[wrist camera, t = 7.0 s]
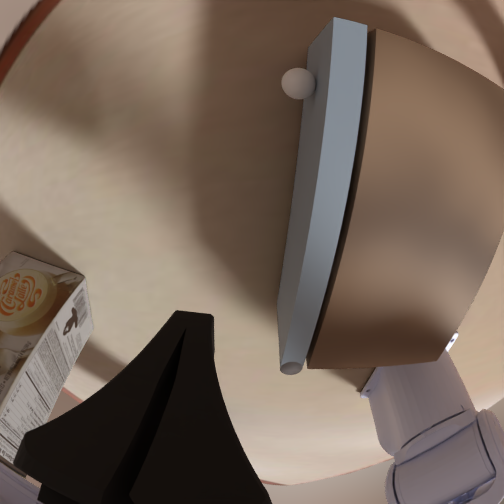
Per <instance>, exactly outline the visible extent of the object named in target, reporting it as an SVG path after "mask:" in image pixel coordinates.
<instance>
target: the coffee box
mask: <svg viewBox="0 0 504 504" xmlns="http://www.w3.org/2000/svg"><path fill="white" fill-rule="evenodd" d="M92 331H93V322H92V317H91V311H90V305H89V299H88V293H87V286H86V279H85V277H84V276H82V275H79V274H76V273H73V272H70V271H67V270H64V269H61V268H58V267H55V266H52V265H49V264H46V263H44V262H41V261H38V260H35V259H33V258H30V257H27V256H24V255H22V254H19V253H16V252H14V251H12V252H11V253H10V254H9V255H8V256H6V257H5V258H4V259H3V260H2V261H1V262H0V462H1V463H2V464H4V465H5V466H6V467H8V468H9V469H11V470H12V471H13V472H15V473H16V474H18V475H19V476H21V477H23V478H26V475H27V474H26V473H24V472H22V471H21V470H19V469H18V468H16V467H15V466H14V464H13V461H14V458H15V456H16V453H17V451H18V448H19V446H20V443H21V441H22V439H23V437H24V435H25V433H26V432H28V431H30V430H32V429H35V428H37V427H39V426H41V425H43V424H45V423H47V420H48V418H49V415H50V413H51V411H52V409H53V407H54V404H55V402H56V400H57V397H58V396H59V394H60V392H61V390H62V387H63V385H64V383H65V381H66V379H67V377H68V375H69V373H70V371H71V369H72V367H73V365H74V364H75V362H76V360H77V358H78V356H79V354H80V352H81V350H82V349H83V347H84V345H85V343H86V341H87V340H88V338H89V336H90V334H91V333H92Z"/></svg>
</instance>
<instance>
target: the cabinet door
mask: <svg viewBox="0 0 504 504" xmlns="http://www.w3.org/2000/svg"><path fill="white" fill-rule="evenodd" d="M366 46H367V25H365V24H361V23H357V22H353V21H349V20H345V19H341V18H336V17H333V18H332V20H331V21H330V22H329V23H328V24H327V25H326V26H325V28H324V29H323V30H322V31H321V32H320V34H319V35H318V36H317V37H316V38H315V40H314V41H313V42H312V43H311V45H310V46H309V47H308V57H307V69H303V68H293V69H290V70H288V71H287V72H286V73H285V74H284V75H283V77H282V81H281V84H282V88H283V90H284V92H285V93H286V94H287V95H288V96H289V97H291V98H294V99H304V101H303V111H302V121H301V130H300V139H299V148H298V157H297V165H296V173H295V181H294V189H293V197H292V205H291V212H290V219H289V227H288V234H287V241H286V248H285V254H284V261H283V268H282V274H281V281H280V287H279V293H278V300H277V316H278V335H279V355H280V371H281V372H282V373H284V374H287V375H293V374H297V373H299V372H300V371H301V370H302V368H303V365H304V362H305V359H306V355H307V352H308V349H309V346H310V343H311V340H312V336H313V333H314V330H315V326H316V323H317V320H318V316H319V313H320V309H321V306H322V302H323V299H324V295H325V291H326V287H327V284H328V280H329V276H330V272H331V268H332V264H333V260H334V256H335V252H336V247H337V243H338V239H339V234H340V230H341V225H342V220H343V216H344V211H345V206H346V201H347V196H348V190H349V185H350V179H351V174H352V168H353V162H354V156H355V149H356V143H357V136H358V128H359V121H360V113H361V104H362V95H363V85H364V74H365V61H366Z"/></svg>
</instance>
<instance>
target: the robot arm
mask: <svg viewBox="0 0 504 504" xmlns="http://www.w3.org/2000/svg"><path fill="white" fill-rule="evenodd" d="M457 337H458V332H457V331H456V332H455V334H454V336H453V337H452V339H451V340H450V342H449V344H448V345H447V347H446V348H445V350H444V351H443V353H442V354H441V356H440V357H439V359H438V360H437V361H434V362H426V363H417V364H408V365H397V366H385V367H376V369H375V370H374V372H373V374H372V375H371V377H370V379H369V380H368V382H367V384H366V385H365V387H364V388H363V390H362V391H361V393H360V397H361V398H369V402H370V406H371V410H372V414H373V418H374V422H375V427H376V431H377V435H378V440H379V442H380V445H381V446H382V448H383V449H384V450H385V451H386V452H387V453H388V454H390V455H391V456H394V459H395V462H394V463H393V464H392V465H391V466H390V468H389V470H388V473H387V476H386V480H385V494H386V499H387V502H388V504H499V503H500V502H501V501H502V499H503V498H504V432H503V429H502V427H501V425H500V423H499V421H498V419H497V417H496V416H495V414H494V413H493V412H492V411H490V410H486V409H482V410H481V411H480V412H478V411H476V410H475V408H474V405H473V403H472V401H471V398H470V396H469V394H468V392H467V390H466V387H465V385H464V383H463V381H462V379H461V377H460V375H459V373H458V371H457V369H456V367H455V365H454V363H453V361H452V359H451V357H450V355H449V354H448V351H449V349H450V348H451V346H452V345H453V343H454V341H455V340H456V338H457ZM214 351H215V348H214V317H213V316H212V315H211V314H205V313H196V312H187V311H179V310H177V311H175V312H174V313H173V314H172V316H171V317H170V318H169V319H168V321H167V322H166V323H165V324H164V326H163V327H162V328H161V329H160V331H159V332H158V333H157V334H156V335H155V337H154V338H153V339H152V340H151V341H150V342H149V343H148V344H147V346H146V347H145V348H144V349H143V350H142V351H141V352H140V353H139V354H138V355H137V356H136V357H135V358H134V359H133V360H132V361H131V362H130V363H129V364H128V365H127V366H126V367H125V368H124V369H123V370H122V371H121V372H120V373H119V374H118V375H117V376H116V377H114V378H113V379H112V380H111V381H110V382H109V383H107V384H106V385H105V386H104V387H103V388H101V389H100V390H99V391H97V392H96V393H95V394H93V395H92V396H91V397H89V398H88V399H87V400H85V401H84V402H82V403H81V404H79V405H78V406H76V407H74V408H73V409H71V410H69V411H68V412H66V413H64V414H63V415H61V416H59V417H58V418H56V419H54V420H52V421H50V422H48V423H45V424H43V425H41V426H39V427H37V428H35V429H32V430H30V431H28V432H26V433H25V435H24V437H23V439H22V441H21V443H20V446H19V448H18V451H17V453H16V456H15V458H14V461H13V464H14V466H15V467H16V468H18V469H19V470H21V471H22V472H24V473H26V474H27V475H29V476H31V477H32V478H34V479H35V480H37V481H39V482H40V483H42V485H41V488H39V487H37V486H35V485H34V484H32V483H30V482H29V481H27V480H25V479H24V478H22V477H21V476H19V475H18V474H16V473H15V472H13V471H12V470H11V469H9V468H8V467H6V466H5V465H4V464H2V463H1V462H0V504H272V502H271V500H270V497H269V494H268V492H267V490H266V489H265V487H264V486H263V484H262V483H261V481H260V479H259V478H258V476H257V474H256V473H255V471H254V469H253V467H252V465H251V464H250V462H249V460H248V458H247V456H246V454H245V452H244V450H243V448H242V446H241V443H240V441H239V439H238V437H237V434H236V432H235V430H234V428H233V425H232V423H231V420H230V417H229V415H228V412H227V409H226V406H225V403H224V400H223V396H222V393H221V389H220V386H219V382H218V378H217V373H216V368H215V363H214Z"/></svg>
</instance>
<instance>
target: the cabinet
mask: <svg viewBox="0 0 504 504" xmlns="http://www.w3.org/2000/svg"><path fill="white" fill-rule="evenodd" d="M503 231H504V89H503V88H501V87H500V86H498V85H497V84H495V83H494V82H492V81H490V80H489V79H487V78H486V77H484V76H482V75H481V74H479V73H477V72H476V71H474V70H472V69H470V68H469V67H467V66H465V65H463V64H461V63H460V62H458V61H456V60H454V59H452V58H450V57H448V56H446V55H444V54H442V53H440V52H437V51H435V50H433V49H431V48H429V47H426V46H424V45H422V44H419V43H417V42H414V41H412V40H409V39H407V38H404V37H402V36H399V35H396V34H393V33H390V32H387V31H384V30H381V29H378V28H376V29H374V30H372V31H370V32H369V33H367V46H366V61H365V74H364V85H363V95H362V104H361V113H360V121H359V128H358V136H357V143H356V149H355V156H354V162H353V168H352V174H351V179H350V185H349V190H348V196H347V201H346V206H345V211H344V216H343V220H342V225H341V230H340V234H339V239H338V243H337V247H336V252H335V256H334V260H333V264H332V268H331V272H330V276H329V280H328V284H327V287H326V291H325V295H324V299H323V302H322V306H321V309H320V313H319V316H318V320H317V323H316V326H315V330H314V333H313V336H312V340H311V343H310V346H309V349H308V352H307V355H306V361H307V369H346V368H370V367H385V366H397V365H408V364H417V363H426V362H434V361H437V360H438V359H439V357H440V356H441V354H442V353H443V351H444V350H445V348H446V347H447V345H448V344H449V342H450V340H451V339H452V337H453V336H454V334H455V332H456V331H457V329H458V327H459V326H460V324H461V322H462V320H463V319H464V317H465V315H466V313H467V312H468V310H469V308H470V306H471V304H472V302H473V300H474V298H475V296H476V294H477V292H478V290H479V288H480V286H481V284H482V282H483V280H484V278H485V276H486V273H487V271H488V269H489V267H490V264H491V262H492V260H493V257H494V255H495V252H496V250H497V247H498V245H499V242H500V239H501V236H502V234H503Z"/></svg>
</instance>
